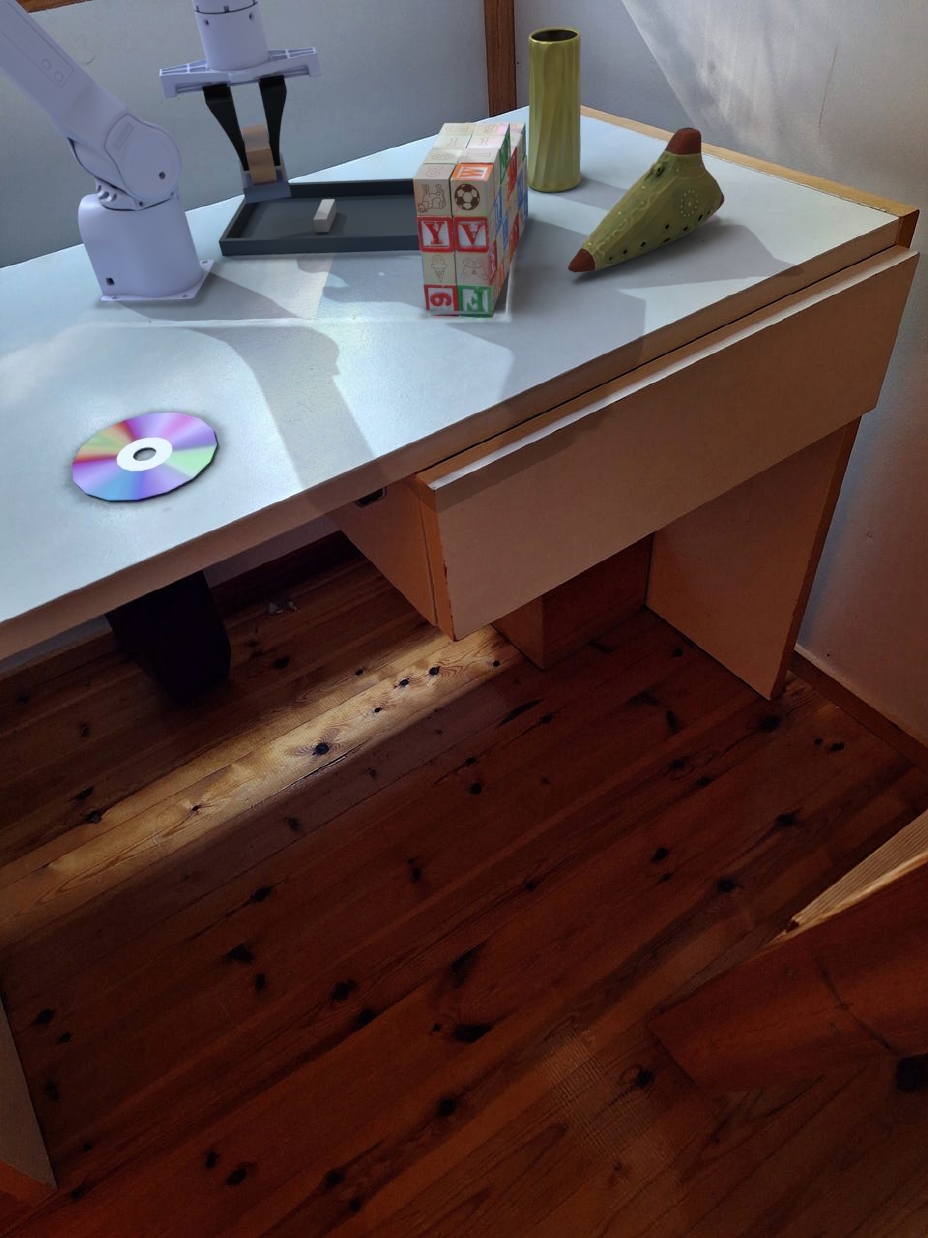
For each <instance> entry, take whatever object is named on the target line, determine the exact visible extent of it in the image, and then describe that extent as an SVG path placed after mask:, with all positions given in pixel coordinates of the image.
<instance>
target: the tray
mask: <svg viewBox="0 0 928 1238" xmlns="http://www.w3.org/2000/svg"><path fill="white" fill-rule="evenodd" d="M413 178H414V177H410V178H409V177H408V178H380V179H379V178H378V179H354V180H351V179H350V180H328V181H300V182H289V186H290V191H291V197H287V198H280V199H274V200H268V201H262V202H255V203H249V204H247V203H246V200H245V196H244V197H243V198H242V200H241V202H240V204H239V205H238V206H237V209H236V210H235V212H234V214H233V215H232V216H231V217H232V218H231V219H230V220H229V223H228V224H227V226H226V228H224V231H223V233H222V235H221V236H220V237H219V239H218V245H219V248H220V252H221V255H222V256H223V257H230V256H232V257H233V256H237V257H238V256H265V255H266V256H267V255H299V254H300V255H301V254H302V255H304V254H305V255H306V254H337V253H365V252H366V253H368V252H369V253H370V252H371V253H372V252H399V251H400V252H403V251H405V252H407V251H408V252H409V251H420V244H419V236H418V226H417V211H416V203H415V193H414V184H413ZM325 199H335V203H336V209H337V213H336V215H335V218H334V220H333V223H332V225H331V227H330V230H329V232H318V233H316V231H315V226H314V220H313V219H314V217H315V215H316V213H317V210H318V208H319V206H320V204H321V202H322V200H325Z"/></svg>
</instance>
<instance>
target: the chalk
mask: <svg viewBox="0 0 928 1238" xmlns="http://www.w3.org/2000/svg"><path fill="white" fill-rule="evenodd" d="M336 213H337V209H336V203H335V199H325V200H322V202H321V204H320V206H319V208H318V210H317V213H316V215H315V217H314V219H313V220H314V226H315V231H316V233H318V232H329V230H330V227H331V225H332V223H333V220H334V218H335V215H336Z"/></svg>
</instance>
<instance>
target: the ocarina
mask: <svg viewBox="0 0 928 1238" xmlns="http://www.w3.org/2000/svg"><path fill="white" fill-rule="evenodd" d="M724 203H725V194H724V192H723V191H722V189H721V187H720V185H719V182H718V181H717V179H716V178H715V177H714V176H713V175H712V174H711V173H710V172H709V171H708V169H707V168H706V166H705V163H704V160H703V154H702V134H701V131H700V130H698V129H697V128H694V127H689V126H688V127H683V128H680V129H677V130H676V132H675V133H674V134H673V135H672V136H671V138H670V139H669V141H668V143H667V145H666V147H665V148H664V149H663V151H662V153H661V154H660V155H659V157H658V159H657V160H656V161H655V162H654V163H652V165H651V166H650V167H649V169H648V170H647V171H646V172H644V174H642V175H641V176H640V177H639V178H638V179H637V180H636V182H635V183H634V184H633V185H632V186H630V188H629V189H628V190H627V192H626V193H625V194H624V195H623V196H622V197H621V198H620V199H619V200H618V201H617V203H615V205H614V206H613V207H612V208H611V210H610V211H609V212H608V213H607V214H606V215H605V216H604V217H603V219H602V220H601V222H600V223H599V224H598V226H597V227H596V228H595V229H594V230H593V231H592V232H591V234H589V236H588V237H587V238H586V239H585V240H584V242H583V243H582V245H581V246H580V248H579V250H578V251H577V253H576V254H575V256H574V257H573V258H572V260H571V261H570V262H569V264H568V265H567V271H569V272H572V273H587V272H588V273H589V272H595V271H599V270H600V271H601V270H603V269H607V268H609V267H612V266H615V265H618V264H621V263H624V262H626V261H629V260H631V259H634V258H637V257H640V256H642V255H644V254H646V253H649V252H651V251H654V250H656V249H658V248H660V247H662V246H664V245H666V244H669V243H671V242H673V241H675V240H678V239H679V238H681V237H684V236H686V235H688V234H690V233H691V232H692V231H694V230H695V229H697V228H698V227H700V226H701V225H703V224H704V223H705V222H707V221H708V220H709V219H710V218H712V216H714V214H716V212H717V211H719V209H720V208H721V207H722V206H723V204H724Z"/></svg>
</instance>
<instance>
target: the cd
mask: <svg viewBox="0 0 928 1238" xmlns="http://www.w3.org/2000/svg"><path fill="white" fill-rule="evenodd" d="M217 447H218V443H217V439H216V435H215V431H214V428H212V426H210V425H209V424H207V423H206V422H205V421H204V420H202V419H201V418H199V417H196V416H192V415H188V414H184V413H179V412H160V413H159V412H153V413H151V412H150V413H148V414H143V415H140V416H135V417H132V418H127V419H124V420H122V421H121V420H120V422H117V423H115V424H113V425H111V426H109V427H107V428H105V429H103V430H101V431H99V432H98V433H97V434H96V435H94V436H92V438H91V439H89V440H88V441H87V442H86V443H84V444H83V445H82V446H81V447H80V449H79V451H78V453H77V454H76V456H75V458H74V459H73V461H72V463H71V470H72V471H71V472H72V481H73V483H75V484H76V486H78V487H79V489H81V490H82V491H83V492H84V493H85V494H86V495H90V496H92V497H96V498H99V499H102V500H106V501H138V500H142V499H147V498H150V497H153V496H154V497H155V496H159V495H162V494H166V493H168V492H171V491H172V490H174V489H176V488H178V487H180V486H182V485H183V484H185V483H187V482H189V481H191V480H194V478H195V477H196V476H197V475H199V473H201V472H202V470H204V468H206V467H207V466H208V465H209V464H210V463H211V461H212V459H213V456H214V453H215V451H216V448H217ZM145 449H154V450H155V454H154V455H153V456H152V457H150V458H148V459H145V460H137V459H135V458H134V456H135V454H136V453H137V452H138V451H141V450H145Z"/></svg>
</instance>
